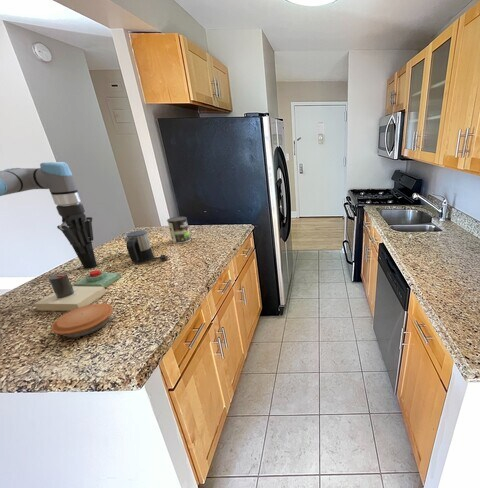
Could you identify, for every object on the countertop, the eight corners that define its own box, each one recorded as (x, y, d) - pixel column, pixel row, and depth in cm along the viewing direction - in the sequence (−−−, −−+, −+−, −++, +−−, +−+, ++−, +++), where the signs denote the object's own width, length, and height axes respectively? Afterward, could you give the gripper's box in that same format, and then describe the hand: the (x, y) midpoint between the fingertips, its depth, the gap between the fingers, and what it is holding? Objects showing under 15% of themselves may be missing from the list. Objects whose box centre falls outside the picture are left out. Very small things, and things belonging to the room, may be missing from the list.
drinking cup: (100, 261, 133) (86, 224, 125) (100, 267, 127) (86, 228, 120) (80, 266, 128) (65, 227, 121) (80, 271, 123) (63, 232, 115)
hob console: (37, 310, 95) (33, 303, 94) (68, 292, 106) (65, 285, 105) (79, 311, 95) (76, 303, 93) (106, 293, 106) (103, 286, 105)
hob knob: (52, 298, 97) (43, 278, 94) (65, 290, 102) (57, 272, 99) (65, 298, 97) (57, 278, 94) (78, 291, 101) (70, 272, 98)
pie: (49, 330, 85) (42, 317, 83) (106, 306, 97) (101, 295, 95) (63, 350, 77) (57, 336, 75) (123, 321, 89) (119, 309, 87)
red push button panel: (74, 288, 109) (71, 280, 107) (95, 276, 118) (92, 269, 117) (102, 288, 109) (99, 280, 107) (120, 277, 118) (118, 269, 116)
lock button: (88, 277, 110) (87, 273, 110) (95, 273, 114) (94, 269, 113) (96, 277, 110) (95, 273, 110) (103, 273, 114) (102, 269, 113)
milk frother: (135, 257, 137) (127, 231, 131) (169, 252, 144) (162, 227, 138) (130, 269, 125) (121, 240, 120) (168, 262, 132) (161, 235, 126)
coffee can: (194, 238, 164) (190, 216, 159) (183, 244, 155) (178, 221, 150) (179, 237, 166) (175, 216, 161) (168, 243, 156) (162, 220, 151)
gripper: (74, 200, 106) (93, 252, 115) (41, 207, 94) (65, 265, 103) (92, 200, 106) (110, 253, 115) (62, 208, 94) (84, 266, 103)
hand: (89, 259), depth 109 cm, fingers closed
